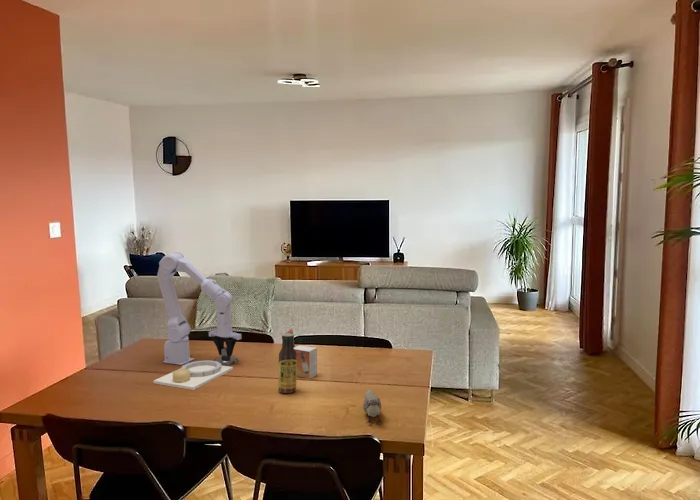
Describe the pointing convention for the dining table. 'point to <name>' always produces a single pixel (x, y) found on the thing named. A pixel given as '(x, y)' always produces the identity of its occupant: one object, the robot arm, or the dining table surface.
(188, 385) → the carrier plate
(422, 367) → the dining table surface
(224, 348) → the gear
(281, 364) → the sauce bottle
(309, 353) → the small box
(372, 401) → the decorative bird
